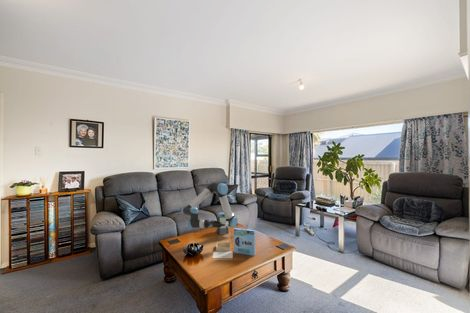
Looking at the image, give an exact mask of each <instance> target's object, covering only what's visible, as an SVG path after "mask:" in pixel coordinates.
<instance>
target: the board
mask: <svg viewBox="0 0 470 313" xmlns="http://www.w3.org/2000/svg"><path fill="white" fill-rule="evenodd" d="M233 254H234V250H233V251H231V250H230V251H213V252H212V257H211V258H212V259H233V257H234V255H233Z"/></svg>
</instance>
